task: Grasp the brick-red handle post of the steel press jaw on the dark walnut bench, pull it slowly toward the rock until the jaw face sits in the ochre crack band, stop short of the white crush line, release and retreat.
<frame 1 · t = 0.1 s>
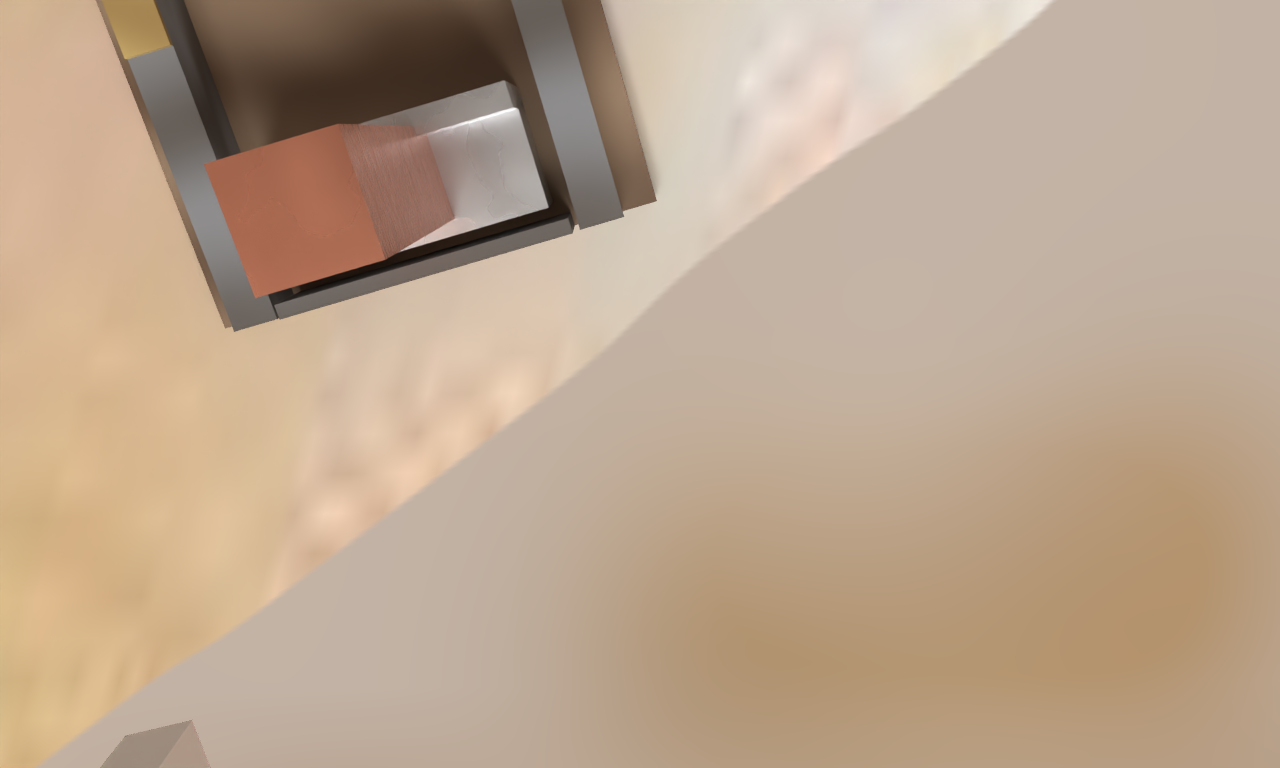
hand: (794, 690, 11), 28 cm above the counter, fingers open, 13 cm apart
press jaw: (367, 193, 29), point 8 cm above the counter, slide at 0.0 cm
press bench: (377, 61, 36), on the counter
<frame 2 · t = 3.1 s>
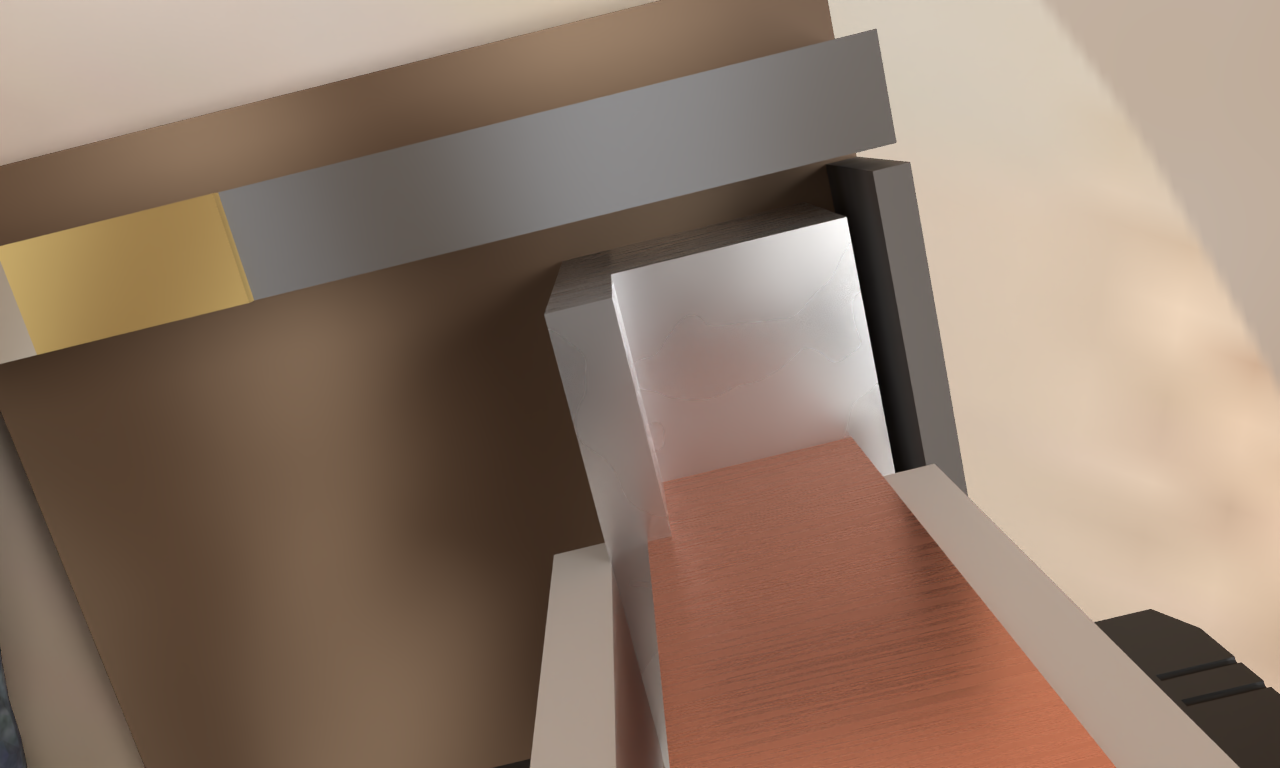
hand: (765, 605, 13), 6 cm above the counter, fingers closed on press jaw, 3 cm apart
press jaw: (826, 711, 11), point 8 cm above the counter, slide at -0.1 cm, touching gripper
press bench: (504, 521, 19), on the counter
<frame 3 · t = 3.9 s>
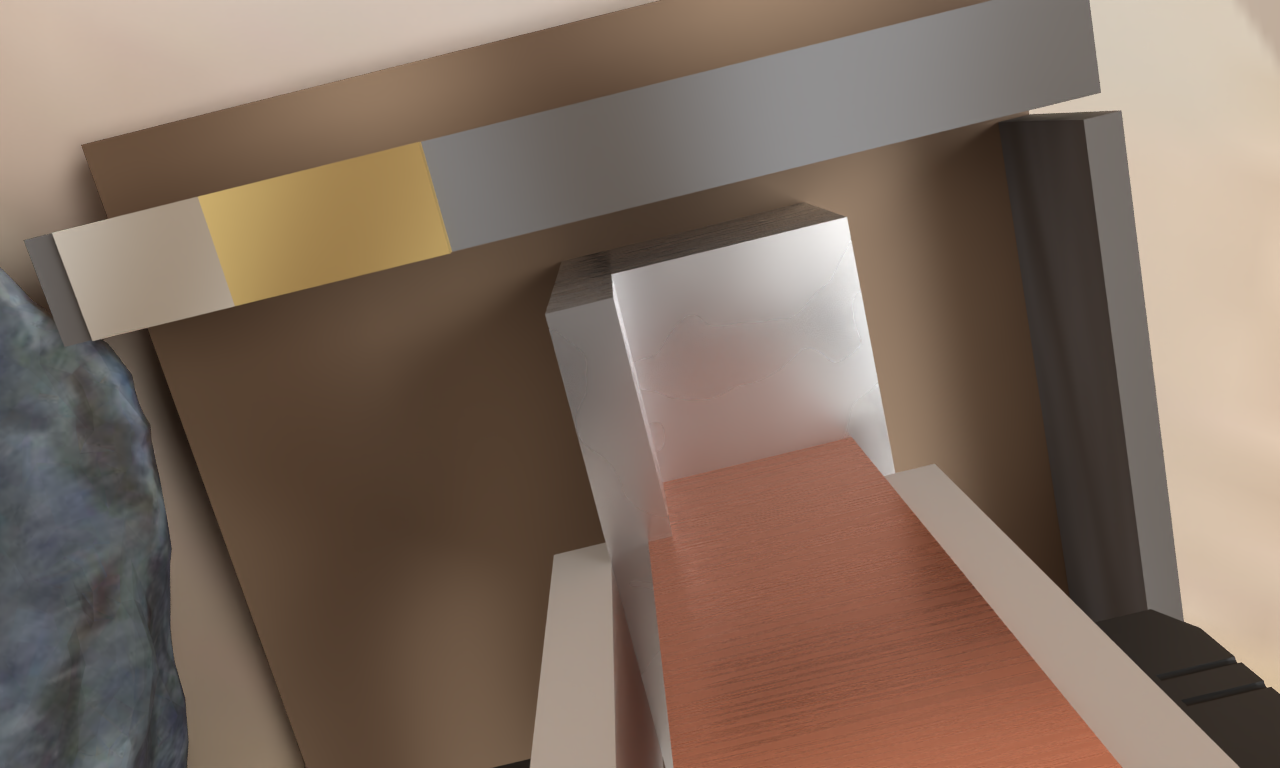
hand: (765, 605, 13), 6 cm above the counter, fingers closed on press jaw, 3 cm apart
press jaw: (827, 711, 11), point 8 cm above the counter, slide at 2.8 cm, touching gripper
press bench: (652, 486, 19), on the counter
rock: (3, 624, 19), on the counter
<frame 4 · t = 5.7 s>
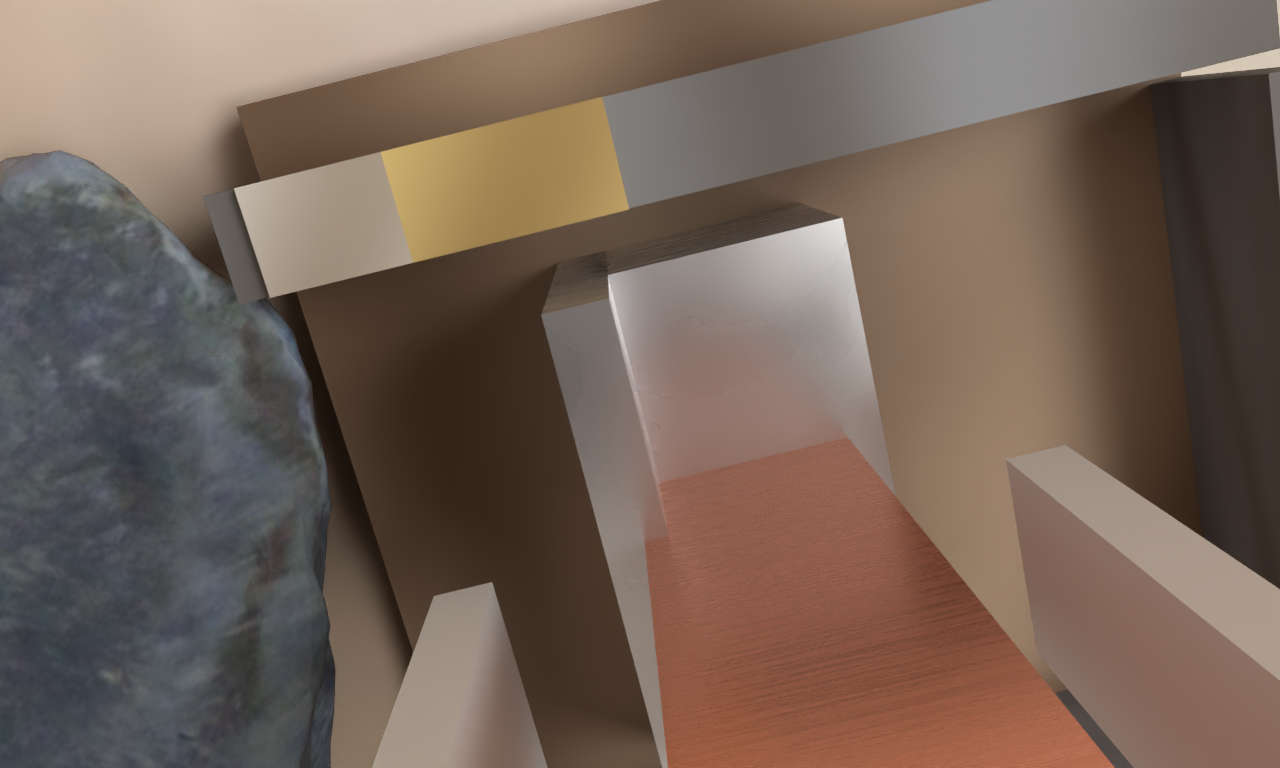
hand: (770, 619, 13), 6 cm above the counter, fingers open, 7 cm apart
press jaw: (822, 710, 11), point 8 cm above the counter, slide at 5.3 cm
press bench: (785, 454, 19), on the counter
rock: (128, 590, 19), on the counter
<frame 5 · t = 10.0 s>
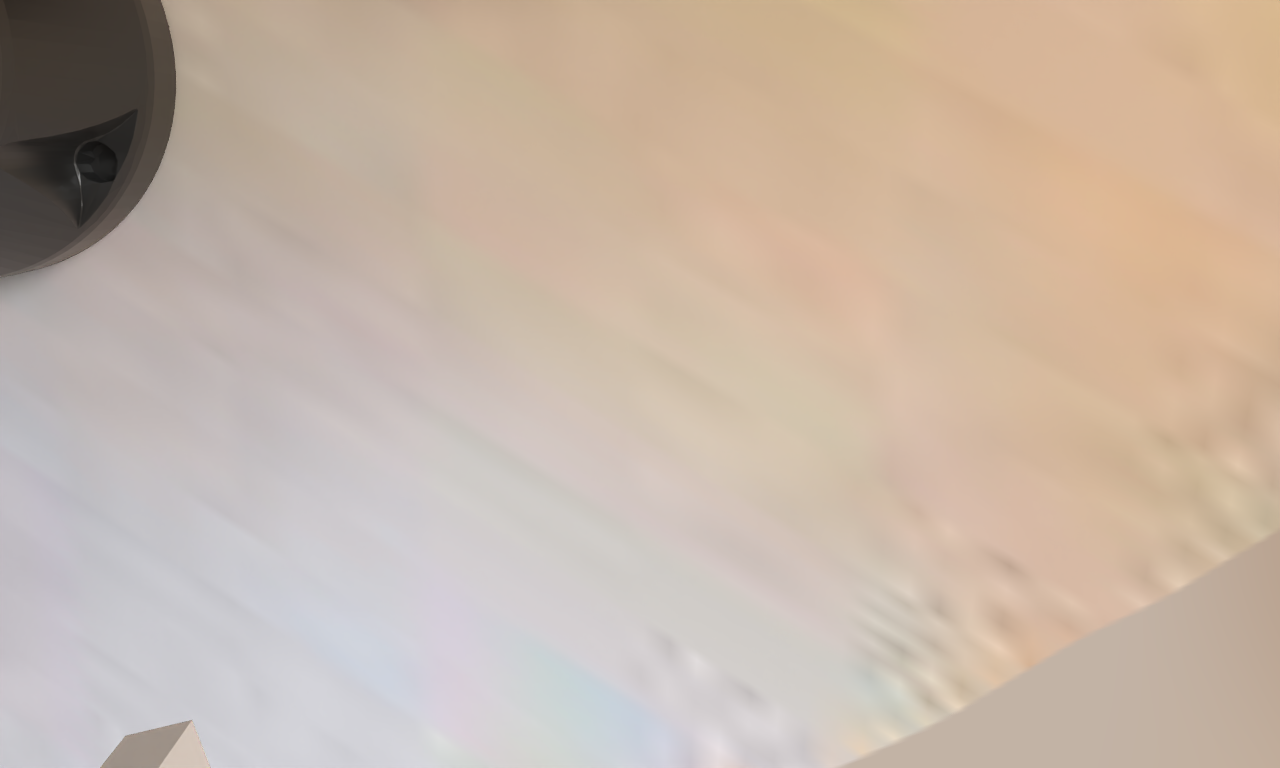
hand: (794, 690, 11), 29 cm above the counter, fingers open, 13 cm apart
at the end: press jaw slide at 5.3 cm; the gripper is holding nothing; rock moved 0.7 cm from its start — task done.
